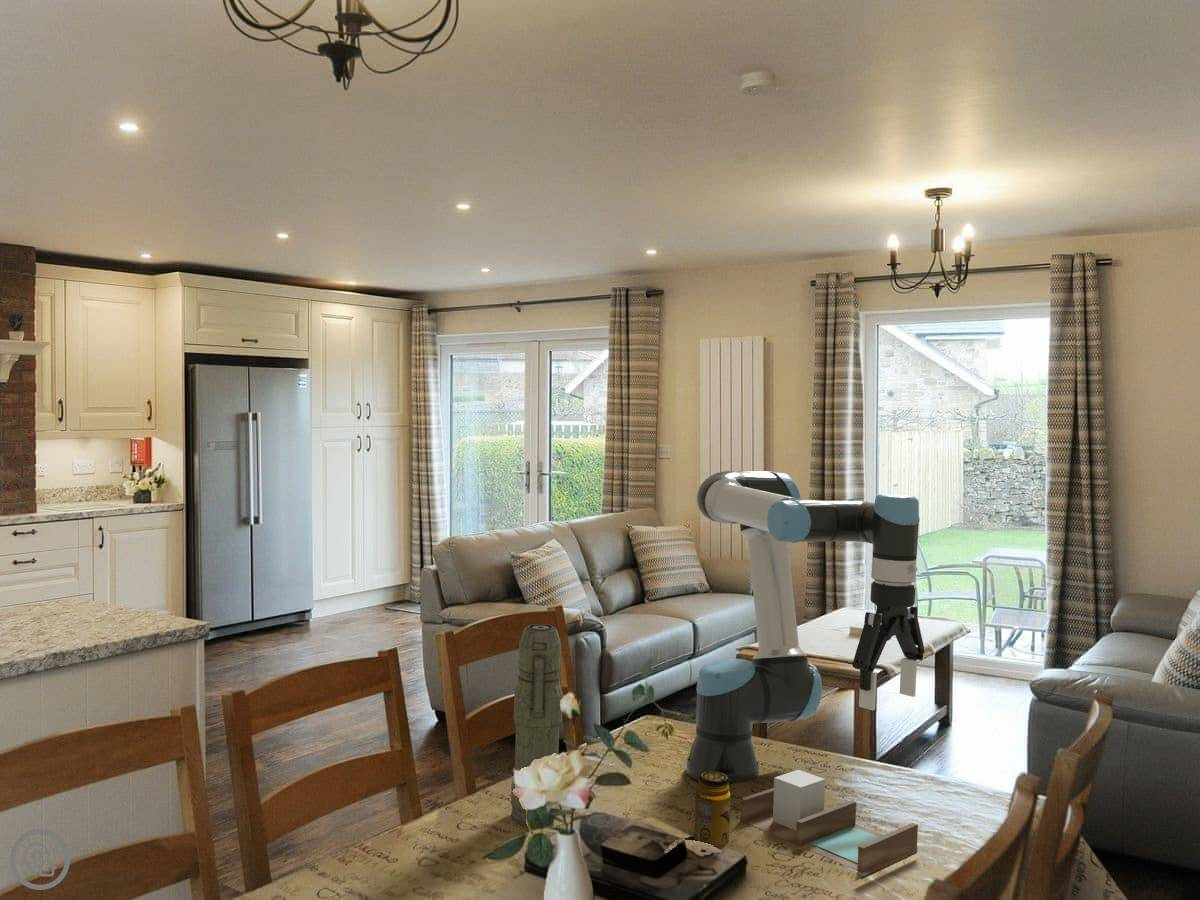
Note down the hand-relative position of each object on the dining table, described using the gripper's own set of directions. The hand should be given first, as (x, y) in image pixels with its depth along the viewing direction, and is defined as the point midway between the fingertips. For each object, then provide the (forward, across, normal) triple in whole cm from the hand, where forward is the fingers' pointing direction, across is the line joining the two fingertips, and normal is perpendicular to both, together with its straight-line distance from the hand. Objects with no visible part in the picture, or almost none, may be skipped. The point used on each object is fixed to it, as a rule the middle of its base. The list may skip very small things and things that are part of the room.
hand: (887, 701), depth 171 cm
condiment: (+25, -26, +18) cm, 41 cm away
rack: (+25, -8, +6) cm, 27 cm away
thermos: (+25, -42, +46) cm, 67 cm away
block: (+24, -8, +12) cm, 28 cm away
